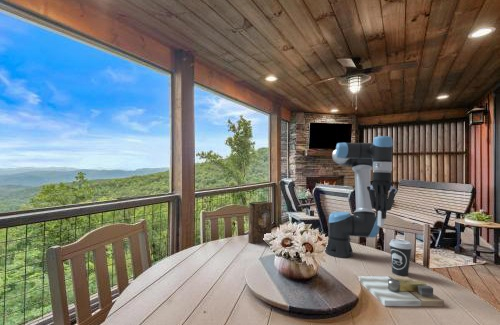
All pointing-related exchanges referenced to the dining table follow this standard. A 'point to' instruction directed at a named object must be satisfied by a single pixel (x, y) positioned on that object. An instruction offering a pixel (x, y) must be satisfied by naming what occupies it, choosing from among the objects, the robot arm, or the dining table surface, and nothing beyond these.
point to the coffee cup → (400, 256)
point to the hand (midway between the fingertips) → (380, 225)
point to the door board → (401, 298)
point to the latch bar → (404, 285)
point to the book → (259, 221)
